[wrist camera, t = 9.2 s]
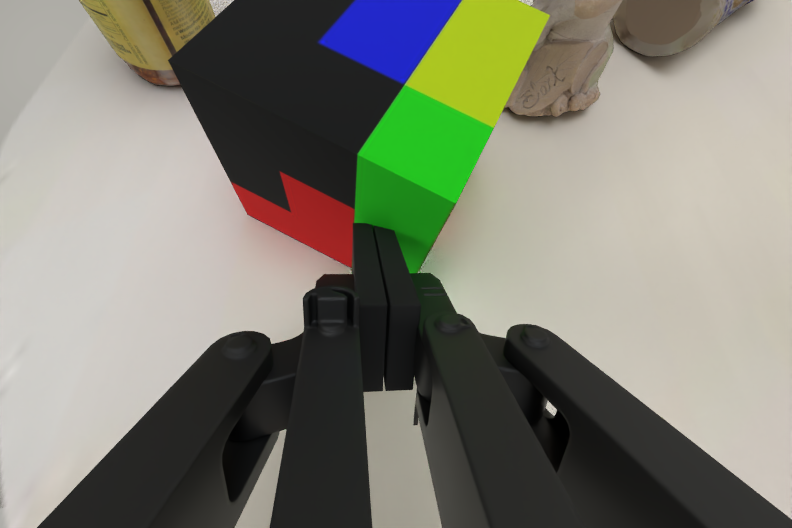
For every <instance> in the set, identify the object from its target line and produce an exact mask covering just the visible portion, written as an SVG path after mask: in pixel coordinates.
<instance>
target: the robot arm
mask: <svg viewBox="0 0 792 528" xmlns="http://www.w3.org/2000/svg"><path fill="white" fill-rule="evenodd" d="M303 312H304V332H303V333H302V334H300V335H299V336H297V337H295V338H293V339H290V340H287V341H283V342H279V343H275V344H271V341H270V338H268V337H267V336H266V335H264V334H262V333H258V332H255V331H242V332H236V333H232V334H229V335H227V336H225V337H222V338H220V339H219V340H217V341H216V342H215V343H213V344H212V345H211V346H210V347H209V348H208V349H207V350H206V351H205V352H204V353H203V354H202V355H201V356H200V357H199V359H198V360H197V361H196V362H195V363H194V364H193V365H192V366H191V367H190V368H189V369H188V370H187V371H186V372H185V373H184V374H183V375H182V376H181V377H180V378H179V379H178V381H177V382H176V383H175V384H174V385H173V386H172V387H171V388H170V389H169V390H168V391H167V392H166V393H165V394H164V395H163V396H162V397H161V398H160V399H159V400H158V401H157V403H156V404H155V405H154V406H153V407H152V408H151V409H150V410H149V411H148V412H147V413H146V414H145V415H144V416H143V417H142V418H141V419H140V420H139V421H138V422H137V423H136V425H135V426H134V427H133V428H132V429H131V430H130V431H129V432H128V433H127V434H126V435H125V436H124V437H123V438H122V439H121V440H120V441H119V442H118V443H117V444H116V445H115V447H114V448H113V449H112V450H111V451H110V452H109V453H108V454H107V455H106V456H105V457H104V458H103V459H102V460H101V461H100V462H99V463H98V464H97V465H96V466H95V467H94V469H93V470H92V471H91V472H90V473H89V474H88V475H87V476H86V477H85V478H84V479H83V480H82V481H81V482H80V483H79V484H78V485H77V486H76V487H75V488H74V489H73V491H72V492H71V493H70V494H69V495H68V496H67V497H66V498H65V499H64V500H63V501H62V502H61V503H60V504H59V505H58V506H57V507H56V508H55V509H54V510H53V511H52V513H51V514H50V515H49V516H48V517H47V518H46V519H45V520H44V521H43V522H42V523H41V524H40V525H39V526H38V527H37V528H234V527H235V525H236V523H237V521H238V519H239V517H240V515H241V513H242V511H243V509H244V507H245V505H246V503H247V501H248V498H249V496H250V494H251V492H252V490H253V488H254V486H255V484H256V482H257V480H258V478H259V476H260V474H261V472H262V470H263V468H264V466H265V464H266V462H267V459H268V457H269V455H270V453H271V451H272V449H273V447H274V445H275V443H276V441H277V439H278V435H279V431H281V430H284V429H287V431H286V437H285V442H284V448H283V454H282V460H281V466H280V471H279V477H278V483H277V489H276V494H275V500H274V506H273V512H272V517H271V523H270V528H372V518H371V503H370V488H369V472H368V457H367V442H366V427H365V412H364V396H363V392H372V391H383V375H384V382H385V390H386V391H395V390H413V381H414V377H415V381H416V385H417V393H416V402H415V412H414V424H413V425H418V418H419V421H420V426H421V431H422V435H423V440H424V445H425V449H426V454H427V459H428V463H429V468H430V473H431V477H432V482H433V486H434V491H435V496H436V500H437V505H438V510H439V514H440V519H441V524H442V528H792V520H791V519H790V518H789V517H788V516H786V515H785V514H784V513H783V512H781V511H780V510H779V509H777V508H776V507H775V506H774V505H772V504H771V503H770V502H769V501H767V500H766V499H765V498H763V497H762V496H761V495H760V494H758V493H757V492H756V491H754V490H753V489H752V488H751V487H749V486H748V485H747V484H746V483H744V482H743V481H742V480H740V479H739V478H738V477H737V476H735V475H734V474H733V473H732V472H730V471H729V470H728V469H726V468H725V467H724V466H723V465H721V464H720V463H719V462H717V461H716V460H715V459H714V458H712V457H711V456H710V455H709V454H707V453H706V452H705V451H703V450H702V449H701V448H700V447H698V446H697V445H696V444H695V443H693V442H692V441H691V440H689V439H688V438H687V437H686V436H684V435H683V434H682V433H680V432H679V431H678V430H677V429H675V428H674V427H673V426H672V425H670V424H669V423H668V422H666V421H665V420H664V419H663V418H661V417H660V416H659V415H657V414H656V413H655V412H654V411H652V410H651V409H650V408H649V407H647V406H646V405H645V404H643V403H642V402H641V401H640V400H638V399H637V398H636V397H635V396H633V395H632V394H631V393H629V392H628V391H627V390H626V389H624V388H623V387H622V386H620V385H619V384H618V383H617V382H615V381H614V380H613V379H612V378H610V377H609V376H608V375H606V374H605V373H604V372H603V371H601V370H600V369H599V368H598V367H596V366H595V365H594V364H592V363H591V362H590V361H589V360H587V359H586V358H585V357H583V356H582V355H581V354H580V353H578V352H577V351H576V350H575V349H573V348H572V347H571V346H569V345H568V344H567V343H566V342H564V341H563V340H562V339H560V338H559V337H558V336H557V335H555V334H554V333H552V332H550V331H549V330H547V329H544V328H541V327H539V326H536V325H531V324H519V325H515V326H512V327H511V328H510V329H509V330H508V331H507V335H506V338H501V337H496V336H490V335H485V334H481V333H479V332H478V330H477V329H476V327H475V325H474V324H473V323H472V321H471V320H470V319H468V318H467V317H465V316H463V315H461V314H457V313H456V311H455V309H454V307H453V305H452V303H451V301H450V299H449V297H448V296H447V293H446V291H445V289H444V287H443V286H442V284H441V282H440V280H439V279H438V278H436V277H435V276H433V275H432V274H431V273H409V270H408V267H407V264H406V262H405V259H404V256H403V253H402V251H401V248H400V245H399V242H398V239H397V237H396V234H395V231H394V230H391V229H387V228H383V227H379V226H375V225H374V227H373V229H372V225H371V224H367V223H353V241H352V274H324V275H323V276H322V277H321V278H320V279H318V280H317V281H316V287H315V288H314V289H312V290H310V291H309V292H307V293H306V294H305V296H304V297H303ZM547 401H549V402H550V403H551V404H552V405H553V406H554V407H555V408H556V409H557V412H556V415H555V416H553V415H552V414H551V413H550V412H549V411H548V410H547V409H546V404H547Z"/></svg>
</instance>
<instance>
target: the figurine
mask: <svg viewBox="0 0 792 528" xmlns="http://www.w3.org/2000/svg"><path fill="white" fill-rule="evenodd" d="M622 1H623V0H534V1H533V5H532V6H531V7H533V8H535V9H538V10H540V11H542V12H544V13H546V14H548V15H550V17H549V19H548V21H547V23H546V25H545V27H544V29H543V31H542V33H541V35H540V37H539V39H538V41H537V43H536V45H535V47H534V49H533V51H532V53H531V55H530V57H529V59H528V61H527V63H526V65H525V67H524V69H523V71H522V73H521V75H520V77H519V79H518V81H517V83H516V85H515V87H514V89H513V91H512V93H511V95H510V97H509V99H508V101H507V103H506V105H505V108H507V107H509V108H510V109H511V110H512V111H513V112H514V113H515V114H518V115H524V114H525V115H527V116H543V115H553V116H555V117H556V116H560V115H561V114H562V113H565V112H566V111H570V110H571V111H577V110H579V109H581V110H584V109H586V108H588V107H589V106H590V105H591V104H593V103H594V102H595V101H596V100H597V99H598V98H599V96H600V92H599V89H598V86H597V85H598V79H599V77H600V76H601V74H602V72H603V70H604V68H605V66H606V64H607V62H608V60H609V58H610V56H611V54H612V51H613V35H612V31H611V27H610V24H609V23H610V21H611V19H612V17H613V15H614V14H615V12H616V11H617V9H618V7H619V5H620V4H621V2H622Z"/></svg>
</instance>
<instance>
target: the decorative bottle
mask: <svg viewBox="0 0 792 528" xmlns="http://www.w3.org/2000/svg"><path fill="white" fill-rule="evenodd" d="M751 1H753V0H623V1H622V2H621V4H620V5H619V7H618V9H617V11H616V12H615V14H614V15H613V22H614V26H615V30H616V34H617V35H618V36H619V39H620V41H622V42H623V45H626V46H627V47H628V48H630V49H632V50H634V51H635V52H638V53H640V54H643V55H645V56H668V55H673V54H676V53H679V52H681V51H684V50H686V49H688V48H690V47H692V46H694V45H695V44H697V43H698V42H699V41H700V40H702V39H703V38H704V36H705V35H706V34H707V33H709V32H710V31H711V30H712V28H713V27H715V26H716V25H718V24H720V23H721V22H722V21H723V20H725V19H726V18H727V17H729V16H730V15H731V14H732V13H733V12H734V11H736V10H737V9H739V8H740V7H741V6H743V5H746V4H747V3H750V2H751Z"/></svg>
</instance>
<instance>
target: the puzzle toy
mask: <svg viewBox="0 0 792 528" xmlns="http://www.w3.org/2000/svg"><path fill="white" fill-rule="evenodd" d="M549 17H550V15H548V14H546V13H544V12H542V11H540V10H538V9H535V8H533V7H531V6H529V5H527V4H525V3H522V2H520V1H518V0H234V1H233V2H232V3H231V4H230V5H229V6H228V7H226V8H225V9H224V10H223V11H222V12H221V13H220V14H219V15H218V16H216V17H215V18H214V19H213V20H212V21H211V22H210V23H209V24H208V25H206V26H205V27H204V28H203V29H202V30H201V31H200V32H199V33H198V34H196V35H195V36H194V37H193V38H192V39H191V40H190V41H189V42H188V43H186V44H185V45H184V46H183V47H182V48H181V49H180V50H179V51H178V52H176V53H175V54H174V55H173V56H172V57H171V58H170V59H169V60H168V61H169V63H170V65H171V67H172V69H173V71H174V73H175V75H176V77H177V79H178V81H179V83H180V85H181V87H182V89H183V91H184V92H185V94H186V96H187V98H188V100H189V102H190V104H191V106H192V108H193V110H194V112H195V114H196V116H197V118H198V120H199V121H200V123H201V125H202V127H203V129H204V131H205V133H206V135H207V137H208V139H209V141H210V143H211V145H212V147H213V149H214V150H215V152H216V154H217V156H218V158H219V160H220V162H221V164H222V166H223V168H224V170H225V172H226V174H227V176H228V178H229V179H230V181H231V183H232V185H233V187H234V189H235V191H236V193H237V195H238V197H239V199H240V201H241V203H242V205H243V207H244V208H245V210H246V212H247V214H248V215H249V216H251V217H253V218H255V219H257V220H259V221H261V222H263V223H265V224H267V225H269V226H271V227H273V228H275V229H277V230H279V231H280V232H282V233H284V234H286V235H288V236H290V237H292V238H294V239H296V240H298V241H300V242H302V243H304V244H306V245H308V246H310V247H311V248H313V249H315V250H317V251H319V252H321V253H323V254H325V255H327V256H329V257H331V258H333V259H335V260H337V261H339V262H341V263H342V264H344V265H346V266H348V267H350V268H352V241H353V223H367V224H371V225H372V229H373V227H374V225H375V226H379V227H383V228H387V229H391V230H394V231H395V234H396V237H397V239H398V242H399V245H400V248H401V251H402V253H403V256H404V259H405V262H406V264H407V267H408V270H409V273H418V271H419V269H420V268H421V266H422V264H423V262H424V260H425V259H426V257H427V255H428V253H429V251H430V250H431V248H432V246H433V244H434V242H435V240H436V239H437V237H438V235H439V233H440V231H441V230H442V228H443V226H444V224H445V222H446V221H447V219H448V217H449V215H450V213H451V212H452V210H453V208H454V206H455V204H456V203H457V201H458V199H459V197H460V195H461V193H462V191H463V189H464V187H465V185H466V183H467V181H468V179H469V177H470V175H471V173H472V171H473V169H474V167H475V165H476V163H477V161H478V159H479V157H480V155H481V153H482V151H483V149H484V147H485V145H486V143H487V141H488V139H489V137H490V135H491V133H492V131H493V129H494V127H495V125H496V123H497V121H498V119H499V117H500V115H501V113H502V111H503V109H504V107H505V105H506V103H507V101H508V99H509V97H510V95H511V93H512V91H513V89H514V87H515V85H516V83H517V81H518V79H519V77H520V75H521V73H522V71H523V69H524V67H525V65H526V63H527V61H528V59H529V57H530V55H531V53H532V51H533V49H534V47H535V45H536V43H537V41H538V39H539V37H540V35H541V33H542V31H543V29H544V27H545V25H546V23H547V21H548V19H549Z"/></svg>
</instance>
